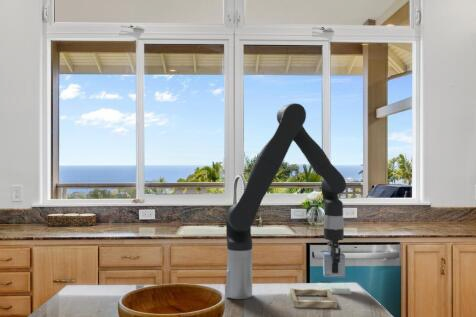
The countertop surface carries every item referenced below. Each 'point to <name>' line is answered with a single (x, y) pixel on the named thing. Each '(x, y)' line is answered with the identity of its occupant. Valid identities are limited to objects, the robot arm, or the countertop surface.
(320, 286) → the sage mat
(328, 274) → the medicine box
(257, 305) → the countertop surface
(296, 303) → the pocket tray
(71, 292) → the countertop surface
